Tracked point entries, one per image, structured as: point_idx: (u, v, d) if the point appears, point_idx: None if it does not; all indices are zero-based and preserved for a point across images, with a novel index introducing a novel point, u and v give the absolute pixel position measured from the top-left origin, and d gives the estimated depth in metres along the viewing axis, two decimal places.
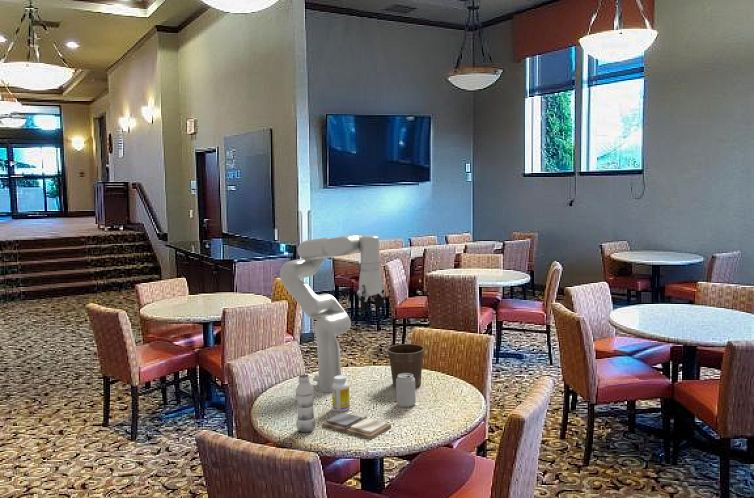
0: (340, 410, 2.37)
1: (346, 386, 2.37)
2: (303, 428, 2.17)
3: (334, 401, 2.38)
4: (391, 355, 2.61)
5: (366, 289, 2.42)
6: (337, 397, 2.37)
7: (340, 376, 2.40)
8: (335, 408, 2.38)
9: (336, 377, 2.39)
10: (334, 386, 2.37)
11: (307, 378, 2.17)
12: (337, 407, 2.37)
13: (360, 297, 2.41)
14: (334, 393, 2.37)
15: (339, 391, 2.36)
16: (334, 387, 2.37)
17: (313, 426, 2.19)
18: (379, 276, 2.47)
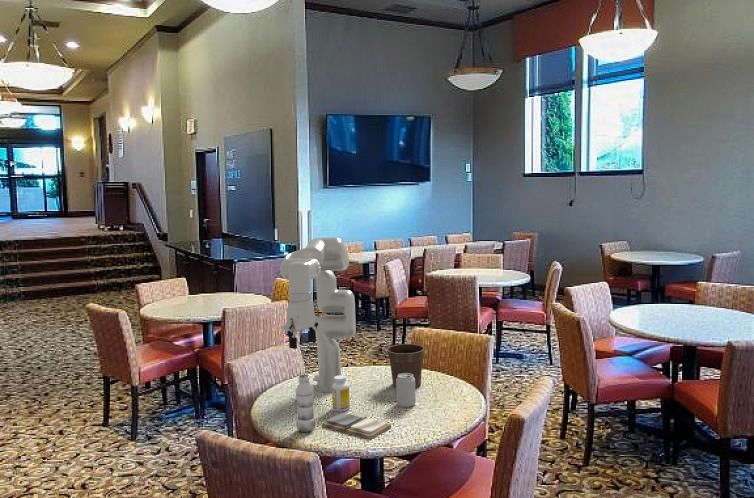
0: (340, 410, 2.37)
1: (346, 386, 2.37)
2: (303, 428, 2.17)
3: (334, 401, 2.38)
4: (391, 355, 2.61)
5: (294, 323, 2.11)
6: (337, 397, 2.37)
7: (340, 376, 2.40)
8: (335, 408, 2.38)
9: (336, 377, 2.39)
10: (334, 386, 2.37)
11: (307, 378, 2.17)
12: (337, 407, 2.37)
13: (287, 332, 2.10)
14: (334, 393, 2.37)
15: (339, 391, 2.36)
16: (334, 387, 2.37)
17: (313, 426, 2.19)
18: (311, 307, 2.16)
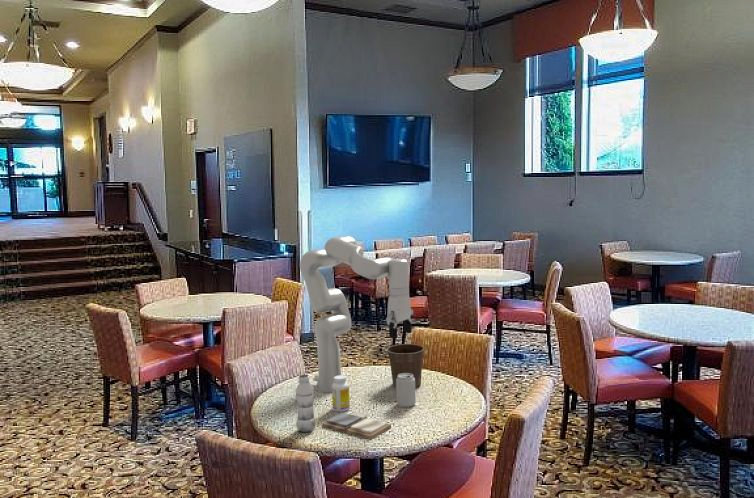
0: (340, 410, 2.37)
1: (346, 386, 2.37)
2: (303, 428, 2.17)
3: (334, 401, 2.38)
4: (391, 355, 2.61)
5: (395, 315, 2.33)
6: (337, 397, 2.37)
7: (340, 376, 2.40)
8: (335, 408, 2.38)
9: (336, 377, 2.39)
10: (334, 386, 2.37)
11: (307, 378, 2.17)
12: (337, 407, 2.37)
13: (389, 324, 2.31)
14: (334, 393, 2.37)
15: (339, 391, 2.36)
16: (334, 387, 2.37)
17: (313, 426, 2.19)
18: (408, 301, 2.38)
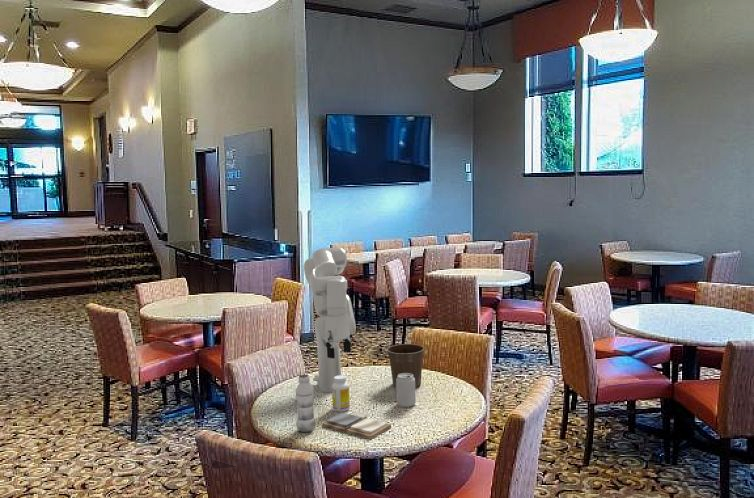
0: (340, 410, 2.37)
1: (346, 386, 2.37)
2: (303, 428, 2.17)
3: (334, 401, 2.38)
4: (391, 355, 2.61)
5: (332, 335, 2.32)
6: (337, 397, 2.37)
7: (340, 376, 2.40)
8: (335, 408, 2.38)
9: (336, 377, 2.39)
10: (334, 386, 2.37)
11: (307, 378, 2.17)
12: (337, 407, 2.37)
13: (326, 343, 2.31)
14: (334, 393, 2.37)
15: (339, 391, 2.36)
16: (334, 387, 2.37)
17: (313, 426, 2.19)
18: (346, 320, 2.37)
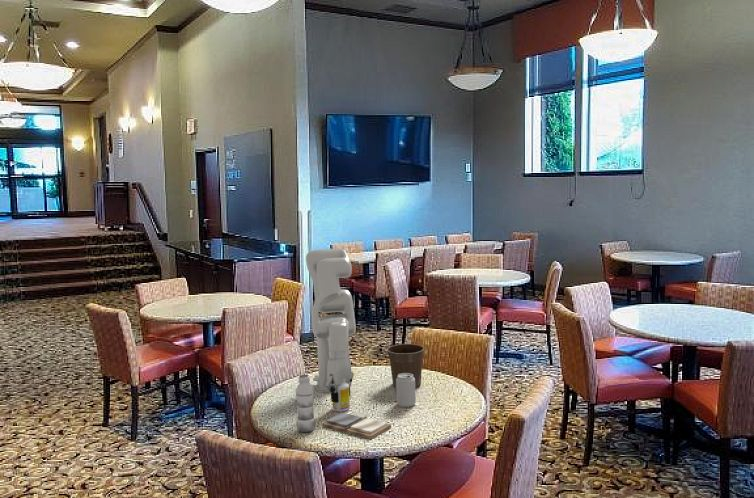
0: (340, 410, 2.37)
1: (346, 386, 2.37)
2: (303, 428, 2.17)
3: None
4: (391, 355, 2.61)
5: (334, 380, 2.34)
6: None
7: None
8: (335, 408, 2.38)
9: None
10: (334, 386, 2.37)
11: (307, 378, 2.17)
12: (337, 406, 2.37)
13: (330, 389, 2.34)
14: None
15: (339, 391, 2.36)
16: (334, 387, 2.37)
17: (313, 426, 2.19)
18: (348, 363, 2.39)
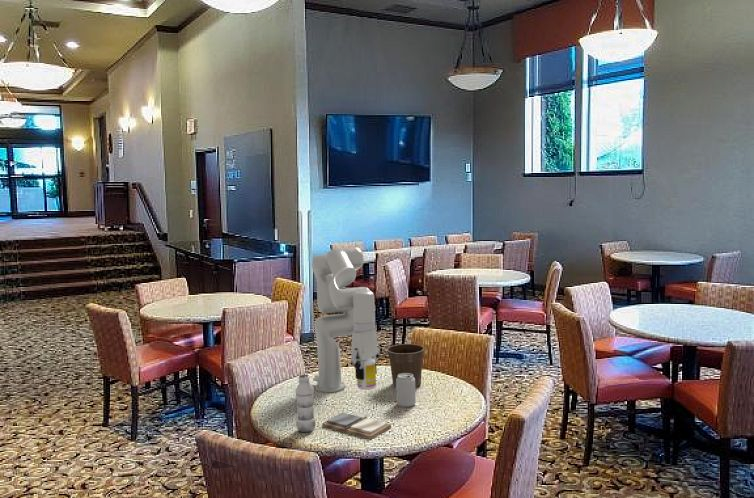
0: (366, 388, 2.14)
1: (372, 361, 2.15)
2: (303, 428, 2.17)
3: None
4: (391, 355, 2.61)
5: (360, 355, 2.11)
6: None
7: None
8: (360, 386, 2.15)
9: None
10: (359, 361, 2.14)
11: (307, 378, 2.17)
12: (363, 384, 2.14)
13: (355, 364, 2.11)
14: None
15: (365, 367, 2.13)
16: (359, 362, 2.14)
17: (313, 426, 2.19)
18: (374, 337, 2.16)
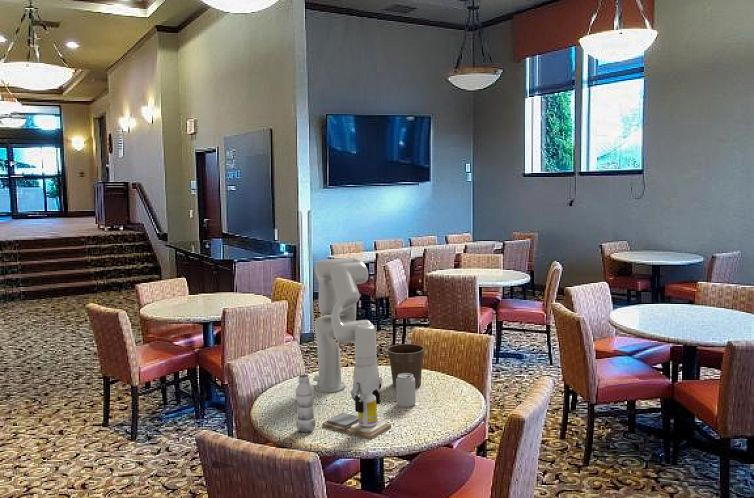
0: (367, 425, 2.16)
1: (373, 398, 2.16)
2: (303, 428, 2.17)
3: (360, 415, 2.16)
4: (391, 355, 2.61)
5: (361, 387, 2.12)
6: (364, 411, 2.15)
7: None
8: (362, 423, 2.16)
9: None
10: None
11: (307, 378, 2.17)
12: (364, 421, 2.16)
13: (354, 397, 2.11)
14: None
15: (366, 404, 2.15)
16: None
17: (313, 426, 2.19)
18: (376, 370, 2.17)
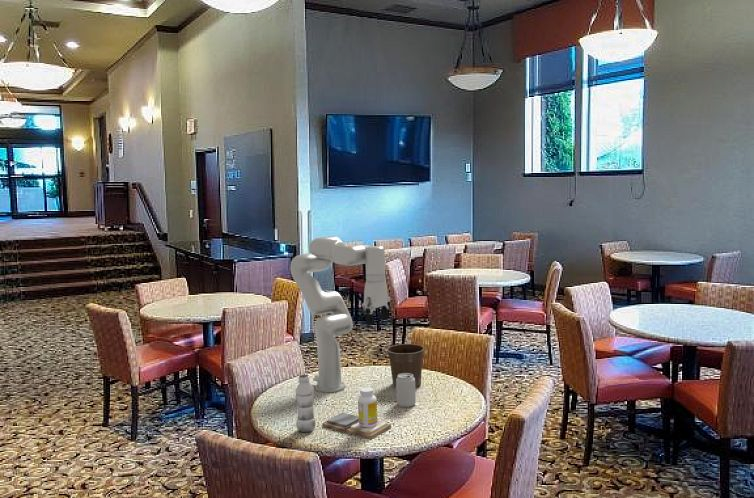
0: (368, 426, 2.16)
1: (374, 399, 2.16)
2: (303, 428, 2.17)
3: (361, 416, 2.16)
4: (391, 355, 2.61)
5: (371, 301, 2.35)
6: (365, 412, 2.15)
7: (367, 388, 2.18)
8: (362, 424, 2.16)
9: (363, 389, 2.17)
10: (360, 399, 2.16)
11: (307, 378, 2.17)
12: (365, 422, 2.15)
13: (365, 310, 2.34)
14: (361, 407, 2.16)
15: (367, 405, 2.15)
16: (361, 401, 2.15)
17: (313, 426, 2.19)
18: (385, 288, 2.40)
